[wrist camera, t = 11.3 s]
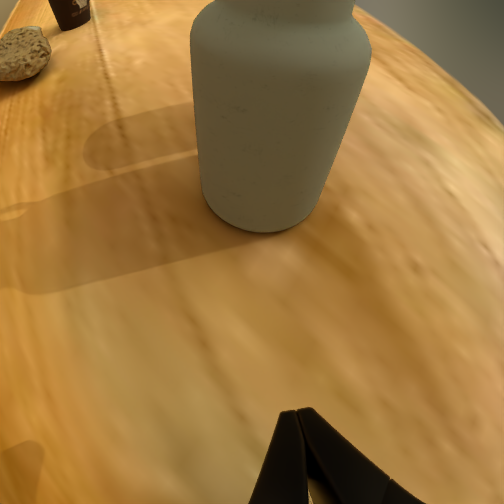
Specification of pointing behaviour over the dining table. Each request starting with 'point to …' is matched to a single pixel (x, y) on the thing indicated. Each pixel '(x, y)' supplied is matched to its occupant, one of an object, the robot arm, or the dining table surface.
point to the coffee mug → (70, 13)
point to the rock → (23, 53)
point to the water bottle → (273, 103)
